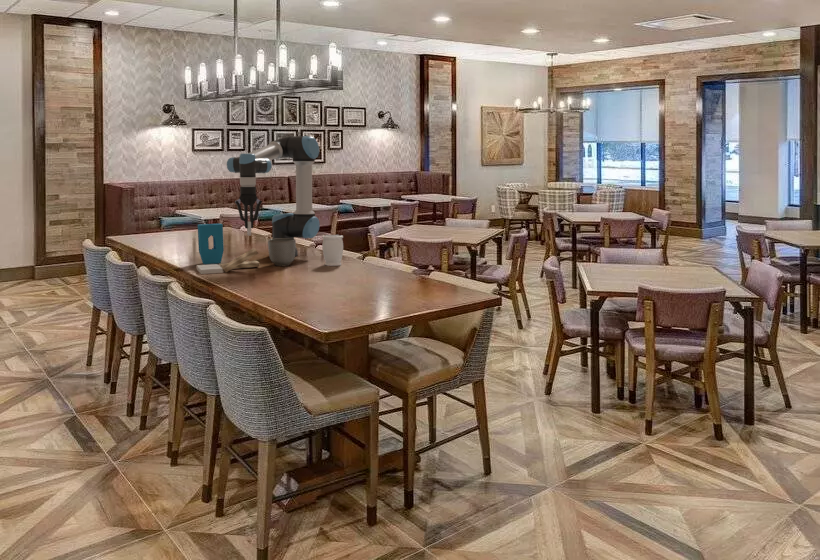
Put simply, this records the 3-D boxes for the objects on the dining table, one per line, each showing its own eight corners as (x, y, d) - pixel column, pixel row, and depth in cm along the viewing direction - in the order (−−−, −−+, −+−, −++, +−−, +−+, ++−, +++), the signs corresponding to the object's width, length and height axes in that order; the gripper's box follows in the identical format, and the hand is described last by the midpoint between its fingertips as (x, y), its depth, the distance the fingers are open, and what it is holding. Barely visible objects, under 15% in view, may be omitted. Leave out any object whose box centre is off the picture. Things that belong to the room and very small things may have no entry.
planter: (273, 268, 379) (272, 242, 377) (265, 264, 391) (264, 238, 389) (300, 266, 386) (299, 240, 383) (290, 262, 398) (290, 237, 395)
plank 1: (255, 251, 376) (253, 247, 375) (258, 253, 370) (256, 249, 369) (223, 270, 371) (221, 266, 370) (225, 272, 365) (223, 268, 365)
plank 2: (256, 264, 386) (256, 260, 385) (259, 266, 380) (259, 262, 380) (220, 267, 379) (220, 263, 378) (222, 269, 373) (222, 265, 373)
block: (201, 264, 389) (199, 225, 386) (198, 263, 394) (197, 224, 390) (224, 263, 395) (223, 224, 391) (222, 261, 399) (220, 223, 396)
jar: (346, 264, 393) (346, 235, 390) (338, 267, 383) (337, 237, 381) (327, 262, 396) (327, 234, 394) (319, 265, 387) (318, 236, 384)
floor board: (218, 268, 379) (218, 263, 378) (224, 272, 365) (223, 268, 365) (196, 269, 374) (196, 265, 374) (201, 274, 361) (201, 269, 360)
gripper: (260, 185, 373) (261, 233, 377) (232, 185, 368) (234, 234, 372) (263, 186, 366) (264, 235, 370) (235, 186, 361) (237, 236, 365)
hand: (249, 235), depth 371 cm, fingers closed
